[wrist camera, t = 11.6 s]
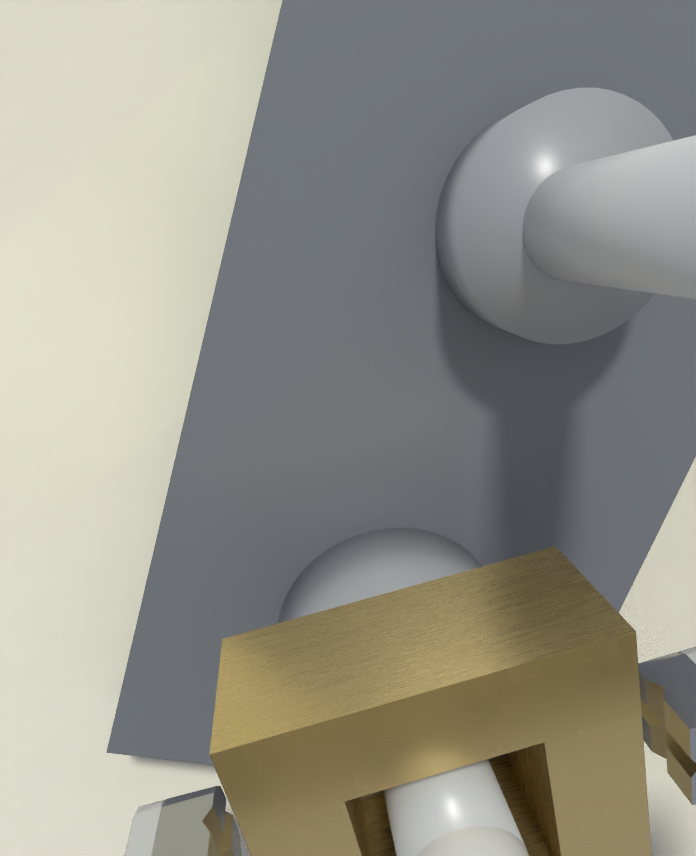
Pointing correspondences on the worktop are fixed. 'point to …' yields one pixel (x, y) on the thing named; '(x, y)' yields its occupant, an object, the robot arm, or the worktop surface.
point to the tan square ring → (438, 713)
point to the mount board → (432, 342)
